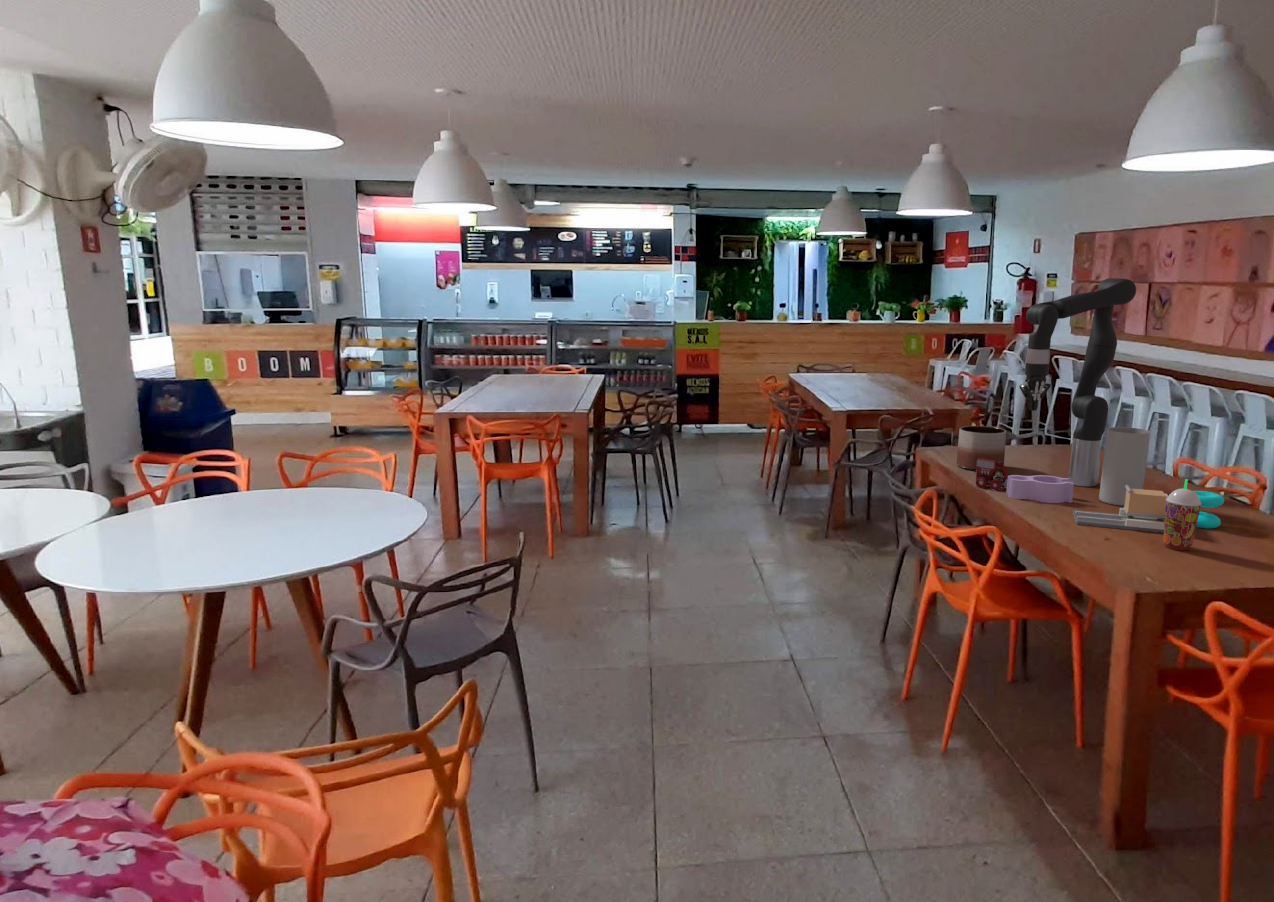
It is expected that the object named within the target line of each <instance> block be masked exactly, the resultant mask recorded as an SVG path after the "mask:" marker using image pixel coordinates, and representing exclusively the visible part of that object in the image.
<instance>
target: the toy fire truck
mask: <svg viewBox="0 0 1274 902" xmlns="http://www.w3.org/2000/svg"><path fill="white" fill-rule="evenodd" d="M976 466H977V471H976V472H975V474H976V476H975V485H976V488H979V489H984V488H986V487H988V486H987V485H989V488H990V489H991V490H992V489H994V490H997V491H1000V490H1001V489H1002V488H1001V487H1004V488H1007V482H1008V476H1010V475H1011V474H1010V472H1009V470H1008V467H1007V466H1005V461H1004V462H1003V461H999V462H998V463H997V461H993V460H986V459H980V458H979V459H977V461H976ZM998 469H999V470H998ZM996 470H997V471H996ZM994 490H993V491H994Z"/></svg>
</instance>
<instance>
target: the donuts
mask: <svg viewBox="0 0 1274 902" xmlns="http://www.w3.org/2000/svg"><path fill="white" fill-rule="evenodd" d="M1192 491H1193V492H1195V493H1196V494H1197V496H1198V497H1199V500H1200V502H1201V503H1202V504H1201V507H1200V508H1202V507H1203V508H1217V507H1220V506H1222V505H1223V504H1224V503H1225V497H1224V496H1223V495H1221V494H1220V493H1219V494H1218V493H1216V492H1212V491H1207V490H1206V491H1205V490H1192ZM1221 523H1222V522H1221V519H1220V517H1218V516H1217V515H1216V514H1213V513H1210V512H1205V511H1200V512H1199V516H1198V521H1197V525H1196V528H1200V529H1215V528H1218V527H1219V526H1221V525H1222V524H1221Z"/></svg>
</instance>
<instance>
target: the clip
mask: <svg viewBox="0 0 1274 902" xmlns="http://www.w3.org/2000/svg"><path fill="white" fill-rule="evenodd" d="M1069 481H1070V479H1069V477H1065V478H1064V477H1060V476H1054V475H1044V474H1039V475H1020V474H1010V476H1008V482H1007V487H1006V492H1005V493H1006V494H1008V495H1007V497H1008V498H1009V497H1012V498H1018V499H1017V500H1019V499H1031V500H1030V501H1034V500H1035V502H1039V501H1040V503H1045V502H1046V503H1047V504H1062V503H1069V504H1070V503H1073V498H1074V488H1075V485H1074V483H1072V482H1069ZM1006 494H1005V495H1006ZM1012 498H1011V499H1012Z"/></svg>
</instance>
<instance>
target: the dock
mask: <svg viewBox="0 0 1274 902" xmlns="http://www.w3.org/2000/svg"><path fill="white" fill-rule="evenodd" d="M1165 495H1166V496H1167V498H1168V496H1169V494H1168V493H1165ZM1123 508H1124V507H1119V511H1118V513H1112V512H1100V511H1091V510H1081V509H1080V510H1078V509H1072V512H1073V513H1072V515H1074V516H1073V517H1074V520H1075V523H1077V524H1080V525H1079V526H1087V525H1090V526H1089V527H1098V528H1099V527H1100V528H1107V527H1109V529H1110V528H1111V529H1118V528H1119V529H1120V530H1130V531H1138V530H1141V531H1140V532H1142V531H1143V532H1148V531H1151V532H1152V533H1158V532H1161V534H1164V524H1165V519H1162V520H1163V522H1159V521H1156V520H1157V519H1158V518H1150V517H1139V516H1133V517H1134V519H1128V515H1126V514H1125V512H1124V510H1123ZM1077 524H1076V525H1077Z"/></svg>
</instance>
